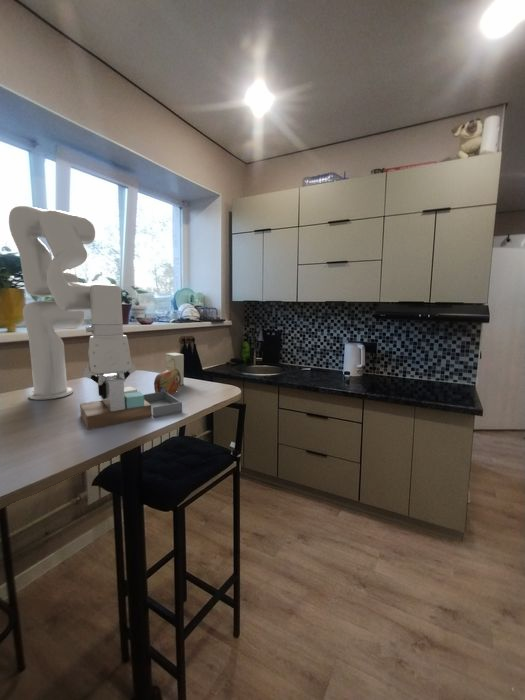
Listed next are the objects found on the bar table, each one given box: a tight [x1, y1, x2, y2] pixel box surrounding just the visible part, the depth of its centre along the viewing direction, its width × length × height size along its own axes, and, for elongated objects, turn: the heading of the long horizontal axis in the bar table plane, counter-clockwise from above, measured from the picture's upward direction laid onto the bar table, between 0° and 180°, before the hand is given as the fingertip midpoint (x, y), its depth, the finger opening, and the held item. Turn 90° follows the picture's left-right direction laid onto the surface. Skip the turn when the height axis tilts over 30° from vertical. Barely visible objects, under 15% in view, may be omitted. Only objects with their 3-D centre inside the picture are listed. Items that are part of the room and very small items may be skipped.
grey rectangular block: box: [99, 373, 125, 411], centre depth 90 cm, size 4×14×8 cm, turn 36°
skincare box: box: [165, 352, 185, 386], centre depth 126 cm, size 6×4×12 cm
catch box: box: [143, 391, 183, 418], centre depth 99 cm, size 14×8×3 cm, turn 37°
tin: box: [153, 369, 181, 396], centre depth 113 cm, size 15×3×8 cm, turn 168°
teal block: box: [124, 391, 144, 409], centre depth 91 cm, size 4×4×3 cm
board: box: [79, 400, 153, 431], centre depth 91 cm, size 12×16×4 cm
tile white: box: [124, 386, 138, 394], centre depth 96 cm, size 4×4×3 cm
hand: (111, 395), depth 90 cm, fingers closed on grey rectangular block, 3 cm apart
